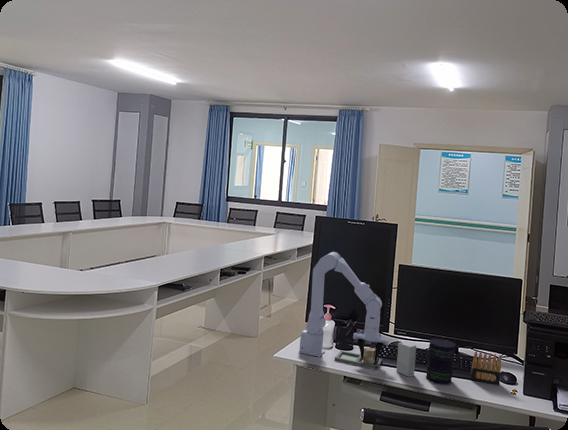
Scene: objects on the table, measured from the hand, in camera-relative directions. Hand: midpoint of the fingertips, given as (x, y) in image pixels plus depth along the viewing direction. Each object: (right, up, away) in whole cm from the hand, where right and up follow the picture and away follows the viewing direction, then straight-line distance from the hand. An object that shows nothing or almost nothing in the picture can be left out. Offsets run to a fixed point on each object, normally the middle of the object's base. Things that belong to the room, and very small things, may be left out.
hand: (369, 358), depth 215 cm
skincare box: (+13, -4, -8) cm, 16 cm away
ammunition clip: (+44, -7, -10) cm, 46 cm away
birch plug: (0, -2, 0) cm, 2 cm away
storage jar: (+25, -5, -12) cm, 28 cm away
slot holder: (-4, -2, +2) cm, 5 cm away
